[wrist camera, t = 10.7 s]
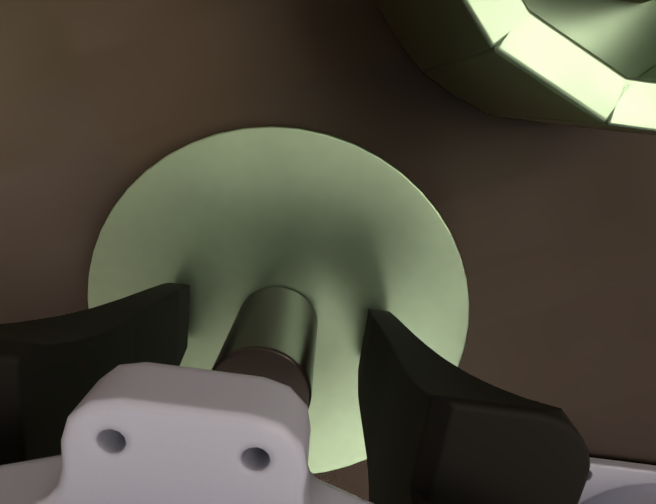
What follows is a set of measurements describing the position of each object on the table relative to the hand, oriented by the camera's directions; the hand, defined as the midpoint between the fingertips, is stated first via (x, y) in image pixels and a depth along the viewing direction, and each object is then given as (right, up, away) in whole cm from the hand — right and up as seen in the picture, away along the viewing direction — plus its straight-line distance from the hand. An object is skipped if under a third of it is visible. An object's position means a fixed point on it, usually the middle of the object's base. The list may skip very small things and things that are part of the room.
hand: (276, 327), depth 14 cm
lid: (0, 0, +1) cm, 1 cm away
